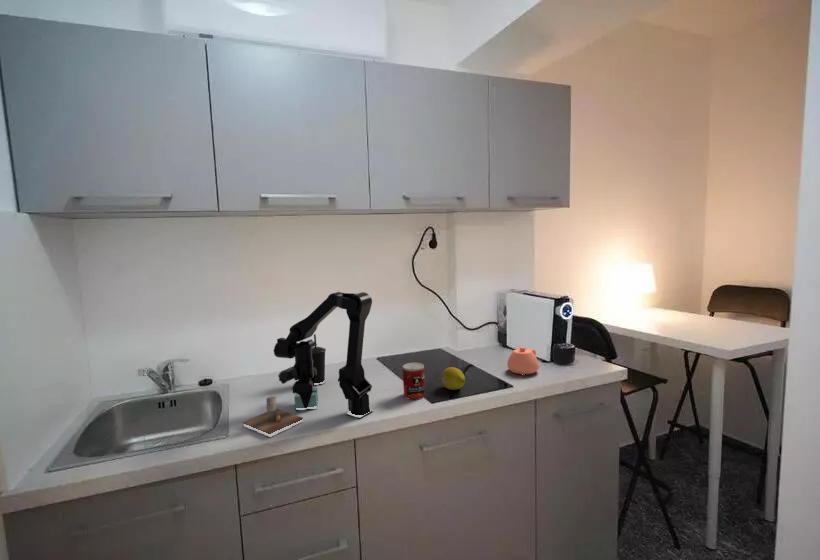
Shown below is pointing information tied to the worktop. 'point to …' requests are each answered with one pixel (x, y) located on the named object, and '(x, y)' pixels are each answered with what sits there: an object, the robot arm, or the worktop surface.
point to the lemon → (453, 378)
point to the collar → (311, 403)
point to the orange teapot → (523, 361)
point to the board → (272, 425)
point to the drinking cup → (319, 362)
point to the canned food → (413, 380)
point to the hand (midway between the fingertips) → (307, 403)
